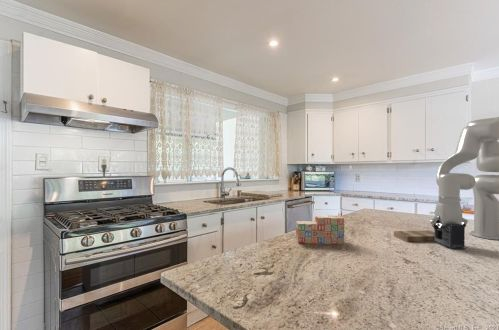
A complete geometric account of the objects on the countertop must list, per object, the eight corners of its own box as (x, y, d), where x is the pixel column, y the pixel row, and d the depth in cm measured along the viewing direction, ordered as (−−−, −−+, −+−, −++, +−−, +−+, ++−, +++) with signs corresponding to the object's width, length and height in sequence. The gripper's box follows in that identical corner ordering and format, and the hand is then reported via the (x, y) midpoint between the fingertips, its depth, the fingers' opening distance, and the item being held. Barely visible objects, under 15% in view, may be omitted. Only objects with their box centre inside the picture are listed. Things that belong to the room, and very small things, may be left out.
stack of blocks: (298, 243, 117) (298, 217, 116) (296, 239, 123) (296, 214, 123) (344, 244, 116) (344, 217, 116) (340, 240, 122) (340, 215, 122)
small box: (466, 249, 108) (466, 225, 108) (450, 249, 109) (450, 225, 109) (447, 242, 119) (447, 220, 119) (433, 241, 119) (433, 219, 119)
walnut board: (430, 235, 130) (430, 230, 130) (446, 241, 120) (446, 235, 120) (393, 236, 129) (393, 231, 129) (407, 242, 119) (407, 236, 119)
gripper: (459, 199, 118) (459, 236, 118) (424, 199, 117) (424, 236, 117) (474, 202, 111) (474, 240, 111) (437, 202, 109) (437, 241, 109)
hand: (448, 238), depth 114 cm, fingers open, 9 cm apart
